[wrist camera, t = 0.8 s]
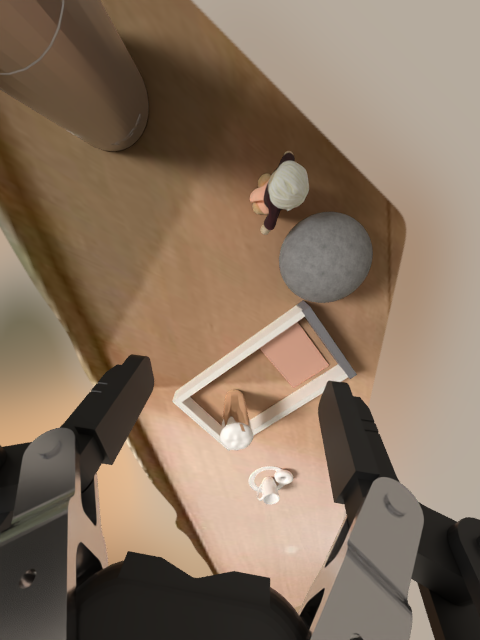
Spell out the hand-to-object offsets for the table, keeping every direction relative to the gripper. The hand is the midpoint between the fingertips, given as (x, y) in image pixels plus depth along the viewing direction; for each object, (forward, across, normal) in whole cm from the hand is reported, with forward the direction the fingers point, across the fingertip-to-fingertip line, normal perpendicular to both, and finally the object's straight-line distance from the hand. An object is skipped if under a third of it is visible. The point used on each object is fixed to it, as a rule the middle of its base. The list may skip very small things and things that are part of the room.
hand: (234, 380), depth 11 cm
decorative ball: (+25, -7, +1) cm, 26 cm away
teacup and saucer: (+17, -9, +47) cm, 50 cm away
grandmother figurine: (+25, 0, -5) cm, 26 cm away
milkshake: (+19, +1, +24) cm, 31 cm away
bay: (+20, -3, +21) cm, 29 cm away
